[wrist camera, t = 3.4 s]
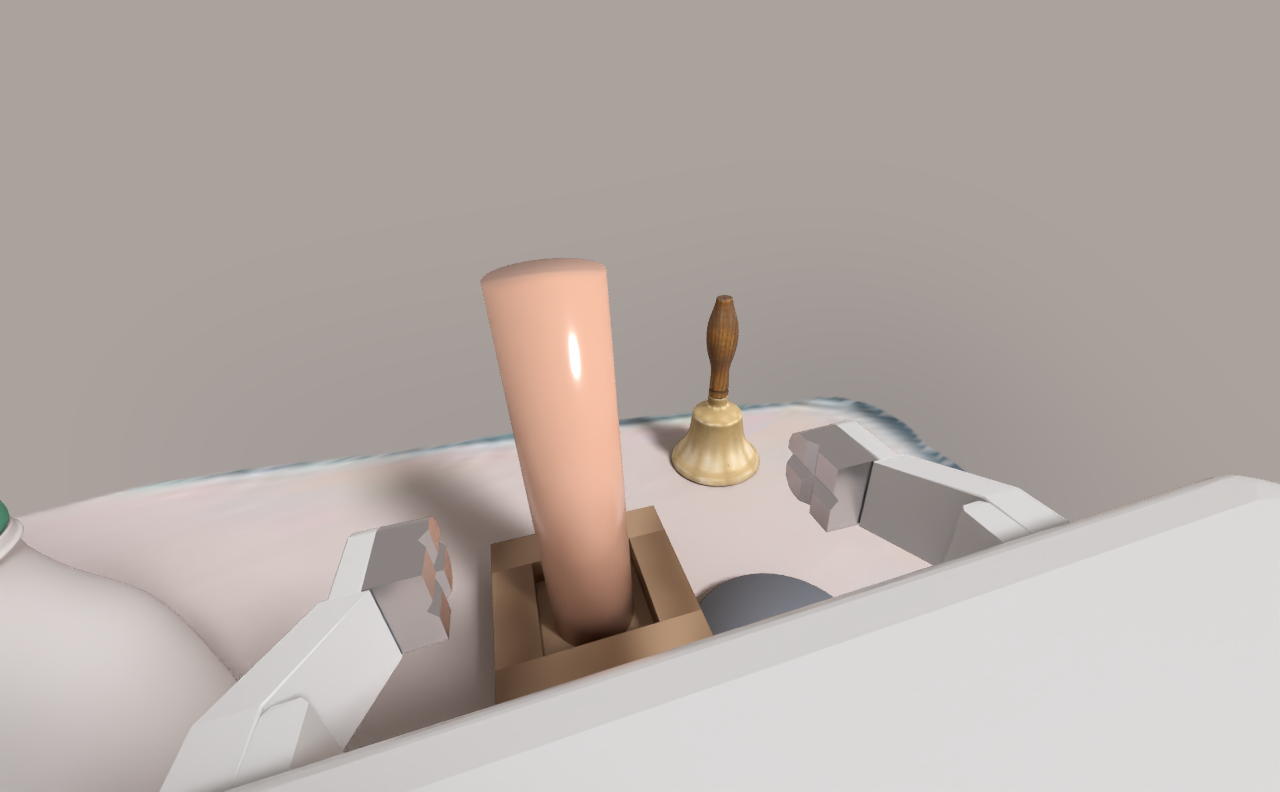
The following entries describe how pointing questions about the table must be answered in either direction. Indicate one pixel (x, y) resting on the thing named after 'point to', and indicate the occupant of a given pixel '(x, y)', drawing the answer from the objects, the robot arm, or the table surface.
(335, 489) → the table surface
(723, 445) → the hand bell
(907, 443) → the table surface
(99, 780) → the milk bottle
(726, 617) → the disc
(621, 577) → the tall peach cylinder
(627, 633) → the pocket block
